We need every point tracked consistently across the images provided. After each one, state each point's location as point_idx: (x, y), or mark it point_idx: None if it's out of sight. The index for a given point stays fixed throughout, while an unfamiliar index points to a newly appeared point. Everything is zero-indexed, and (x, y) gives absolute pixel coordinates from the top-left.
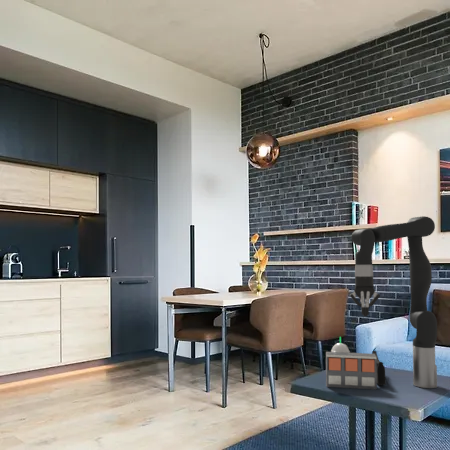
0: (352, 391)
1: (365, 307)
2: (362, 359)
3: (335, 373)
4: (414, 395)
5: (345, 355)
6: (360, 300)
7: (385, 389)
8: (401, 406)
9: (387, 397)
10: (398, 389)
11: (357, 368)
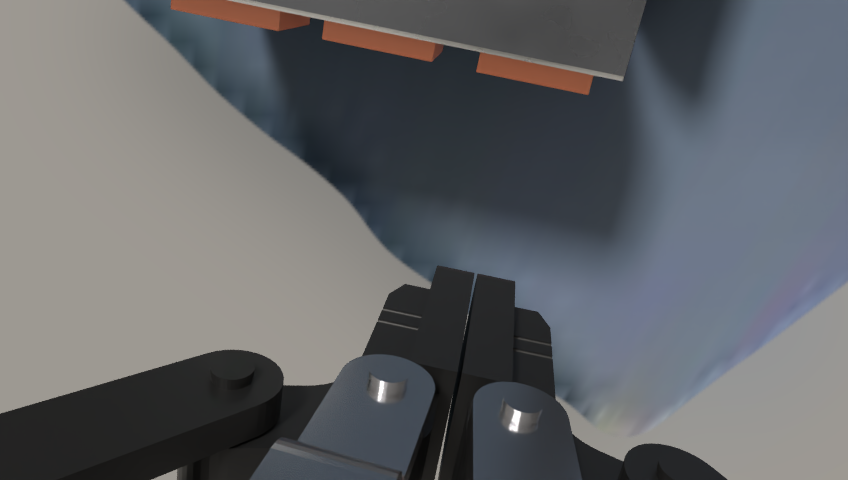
0: (402, 96)
1: (449, 466)
2: (483, 56)
3: None
4: (783, 190)
5: (318, 17)
6: (273, 459)
7: (657, 37)
8: (578, 390)
9: (578, 232)
10: (758, 34)
11: (439, 53)
